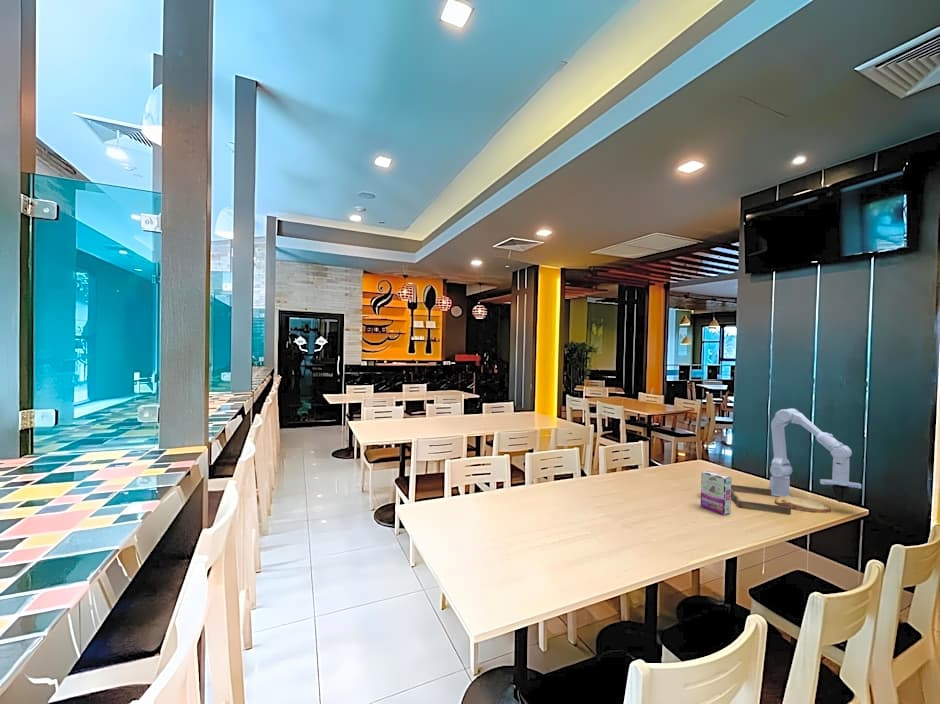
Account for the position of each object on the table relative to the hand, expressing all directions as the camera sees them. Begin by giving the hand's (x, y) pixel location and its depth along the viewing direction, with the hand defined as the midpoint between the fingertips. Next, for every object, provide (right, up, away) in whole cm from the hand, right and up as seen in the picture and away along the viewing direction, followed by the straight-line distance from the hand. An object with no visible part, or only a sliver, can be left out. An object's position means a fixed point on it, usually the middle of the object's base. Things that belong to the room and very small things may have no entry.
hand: (839, 501), depth 189 cm
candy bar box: (-58, -3, -2) cm, 59 cm away
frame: (-31, -4, +10) cm, 33 cm away
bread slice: (-13, -5, +5) cm, 15 cm away
